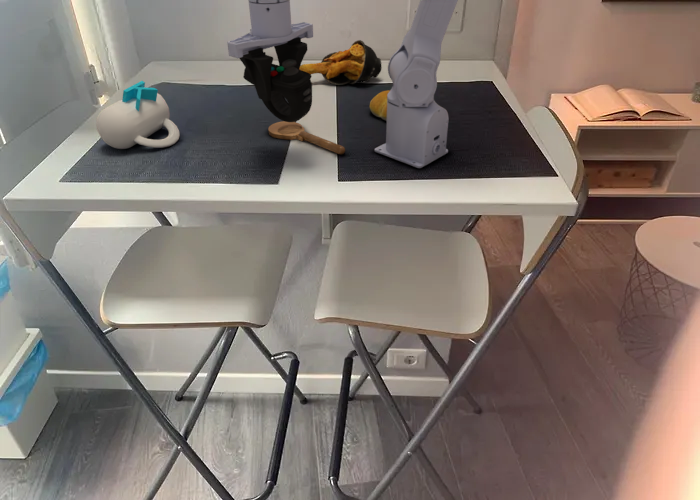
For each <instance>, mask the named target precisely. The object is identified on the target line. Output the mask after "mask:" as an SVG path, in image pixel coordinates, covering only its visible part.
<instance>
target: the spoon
mask: <svg viewBox="0 0 700 500" xmlns="http://www.w3.org/2000/svg"><path fill="white" fill-rule="evenodd" d="M267 130H268V131H267V132H268V135H269V136H270V137H272V138H275V139H280V140H281V139H282V140H287V141H290V140H298V141H301V142H304V141H305V142H307V143H310V144H312V145H316V146H317V147H321V148H323V149H325V150H327V151H330V152H333V153H335V154H338V155H344V154H345V152H346V148H345V146H343V145H340V144H339V143H335V142H333V141H332V140H331V141H330V140H327V139H325V138H322V137H320V136H318V135H316V134H313V133H310V132H307V131H305V127H303V125H302V124H301V123H299V122H298V121H296V122H285V121H277V122H274V123H272V124H270V125H269V126H268V129H267Z"/></svg>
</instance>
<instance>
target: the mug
mask: <svg viewBox="0 0 700 500" xmlns="http://www.w3.org/2000/svg"><path fill="white" fill-rule="evenodd" d="M145 84H146V82H145V81H143V80H140V81H138V82H137V83H134V84H133V85H131V86H129V87H127V88H125V89H124V90H123V89H122V99H119V100H117V101H115V102H114V103H112V104H110V105H108V106H106V107H104V108H103V109H102V110H101V111H100V112H99V113H98V115H97V117H96V123H95V124H96V130H97V133H98V135H99V137H100V139H101V140H102V141H103V142H104V143H105V144H106V145H108V146H110V147H111V148H113V149H118V150H126V149H130V148H132V147H133V146H135V145H137V144H138V145H140V146H143V147H147V148H153V149H154V148H155V149H160V148H161V149H162V148H168V147H170V146H173V145H175V144H176V143H177V142H179V139H180V136H181V135H180V134H181V133H180V130H179V128H178V125H176V124H175V122H173V120H171V119H170V118H171V117H170V114H171V112H170V108H169V105H168V104H167V102H166V100H165V99H164V97H163V96H162V95H161V94H160V93H158V92H159V90H158V89H157V88H156V87H145V86H146V85H145ZM162 128H165V129H166V130H167V131H168V135H167V136H166V137H165V138H161V139H152V138H148V137H150V136H151V135H153V134H154V133H156V132H158V131H160V130H161V129H162Z"/></svg>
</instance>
